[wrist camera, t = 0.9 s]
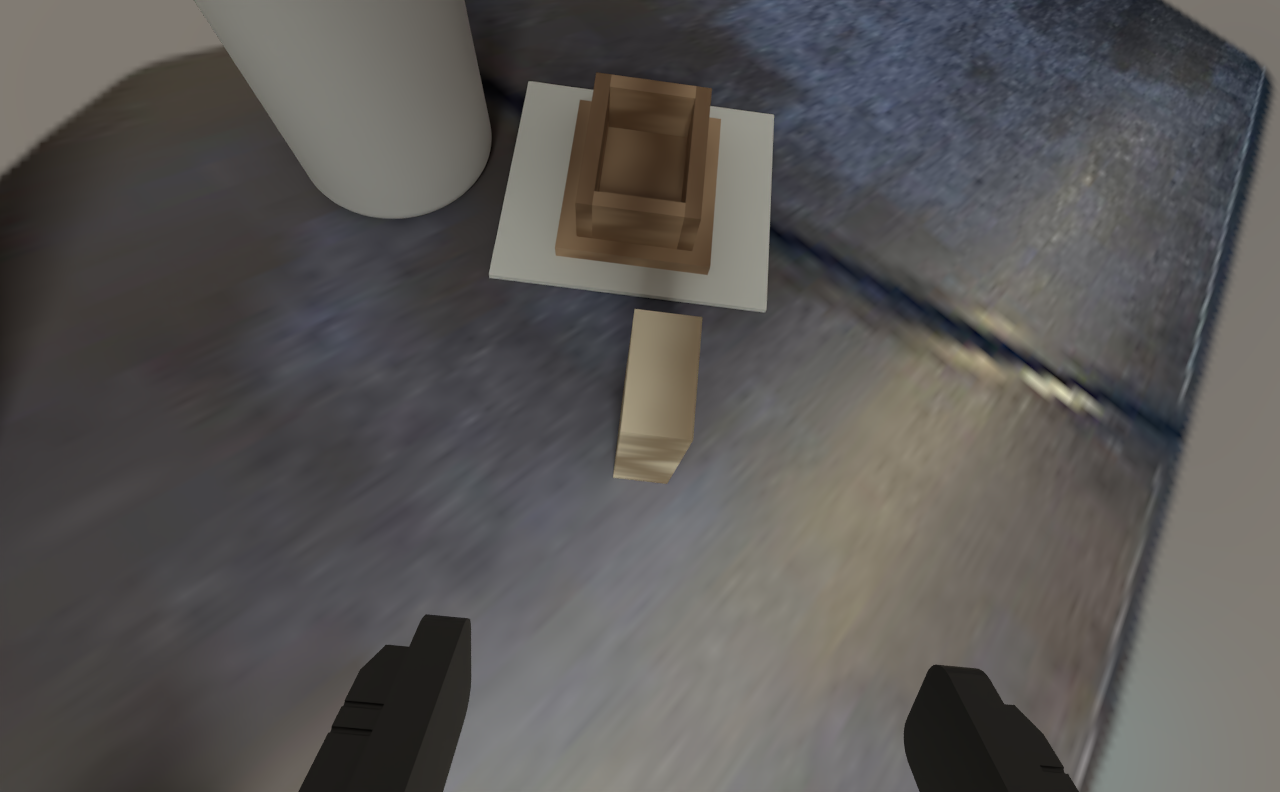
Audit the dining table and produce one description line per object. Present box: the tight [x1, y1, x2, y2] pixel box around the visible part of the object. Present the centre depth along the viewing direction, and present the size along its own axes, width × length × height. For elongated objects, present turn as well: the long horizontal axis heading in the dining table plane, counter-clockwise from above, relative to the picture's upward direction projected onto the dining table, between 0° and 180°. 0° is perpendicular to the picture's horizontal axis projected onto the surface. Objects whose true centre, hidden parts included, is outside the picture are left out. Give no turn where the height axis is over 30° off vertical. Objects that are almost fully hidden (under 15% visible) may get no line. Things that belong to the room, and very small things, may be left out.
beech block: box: [613, 309, 702, 484], centre depth 33 cm, size 3×6×10 cm, turn 174°
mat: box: [489, 81, 774, 313], centre depth 43 cm, size 18×16×1 cm
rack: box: [555, 72, 721, 275], centre depth 41 cm, size 10×12×4 cm
